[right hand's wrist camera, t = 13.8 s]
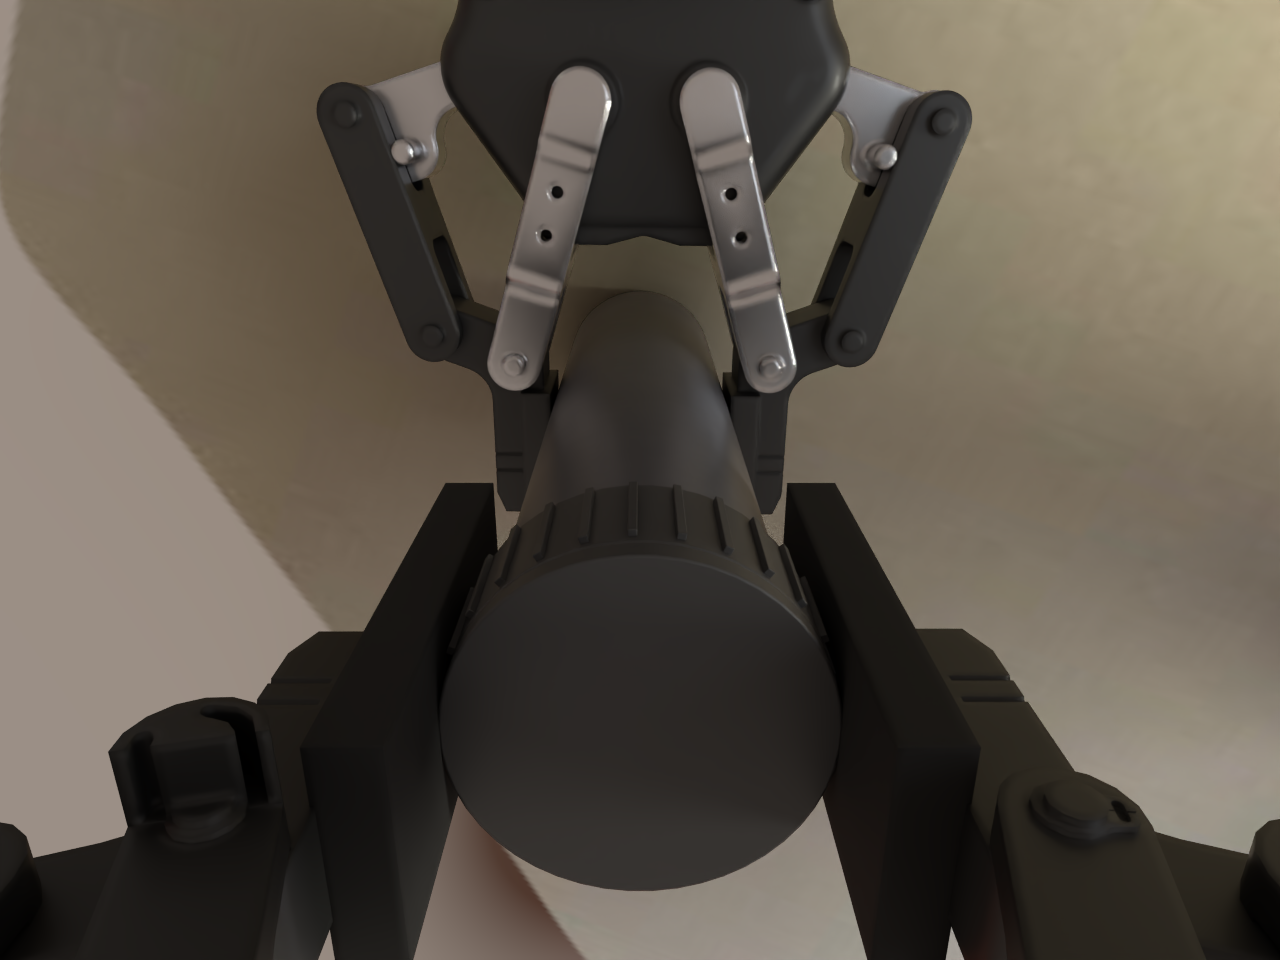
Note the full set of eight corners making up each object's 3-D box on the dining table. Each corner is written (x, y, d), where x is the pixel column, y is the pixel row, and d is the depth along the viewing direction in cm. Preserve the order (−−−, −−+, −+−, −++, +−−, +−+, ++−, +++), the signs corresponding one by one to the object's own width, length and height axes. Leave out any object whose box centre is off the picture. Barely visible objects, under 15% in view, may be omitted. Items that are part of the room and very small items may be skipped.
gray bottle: (736, 353, 27) (887, 700, 11) (646, 450, 29) (655, 901, 12) (633, 261, 26) (622, 485, 10) (544, 365, 28) (396, 727, 11)
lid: (891, 627, 12) (939, 721, 10) (655, 838, 14) (657, 956, 12) (622, 401, 11) (618, 460, 9) (393, 656, 12) (346, 754, 10)
